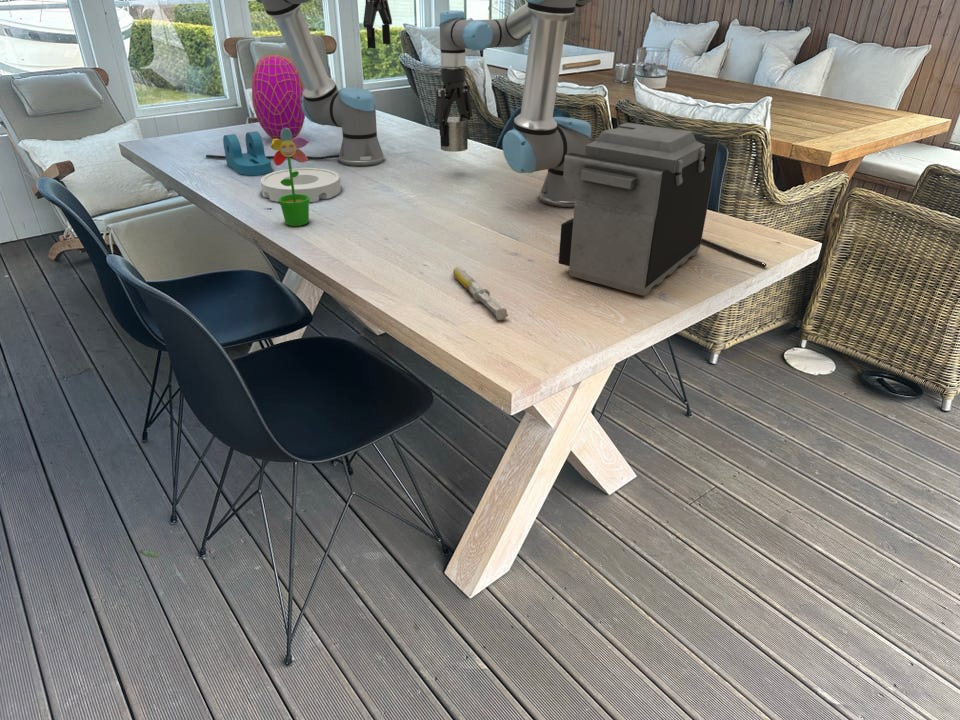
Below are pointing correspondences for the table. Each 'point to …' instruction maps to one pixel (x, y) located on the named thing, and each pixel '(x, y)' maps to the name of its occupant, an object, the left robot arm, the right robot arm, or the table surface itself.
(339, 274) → the table surface
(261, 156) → the camera mount
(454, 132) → the can
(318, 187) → the white notched ring base
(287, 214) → the potted flower
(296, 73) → the decorative egg
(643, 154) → the grey cooler box
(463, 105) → the right robot arm
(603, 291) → the table surface
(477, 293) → the syringe
